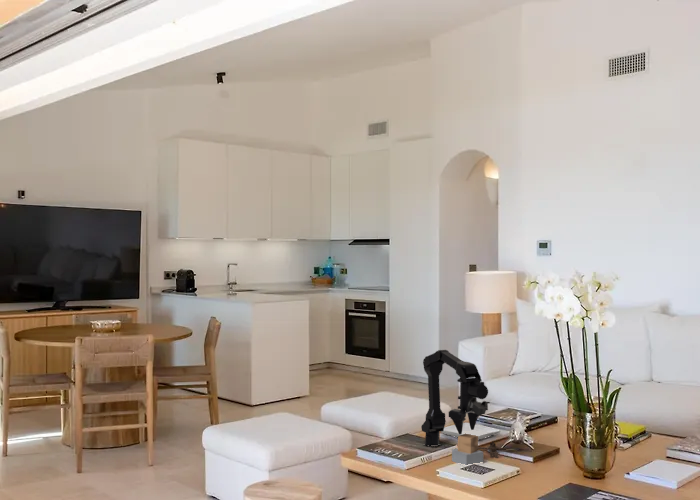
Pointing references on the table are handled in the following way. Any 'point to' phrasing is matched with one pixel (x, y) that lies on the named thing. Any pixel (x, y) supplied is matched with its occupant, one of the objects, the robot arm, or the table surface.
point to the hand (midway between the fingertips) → (466, 431)
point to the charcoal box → (467, 457)
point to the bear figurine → (493, 449)
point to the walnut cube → (468, 443)
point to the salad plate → (466, 427)
